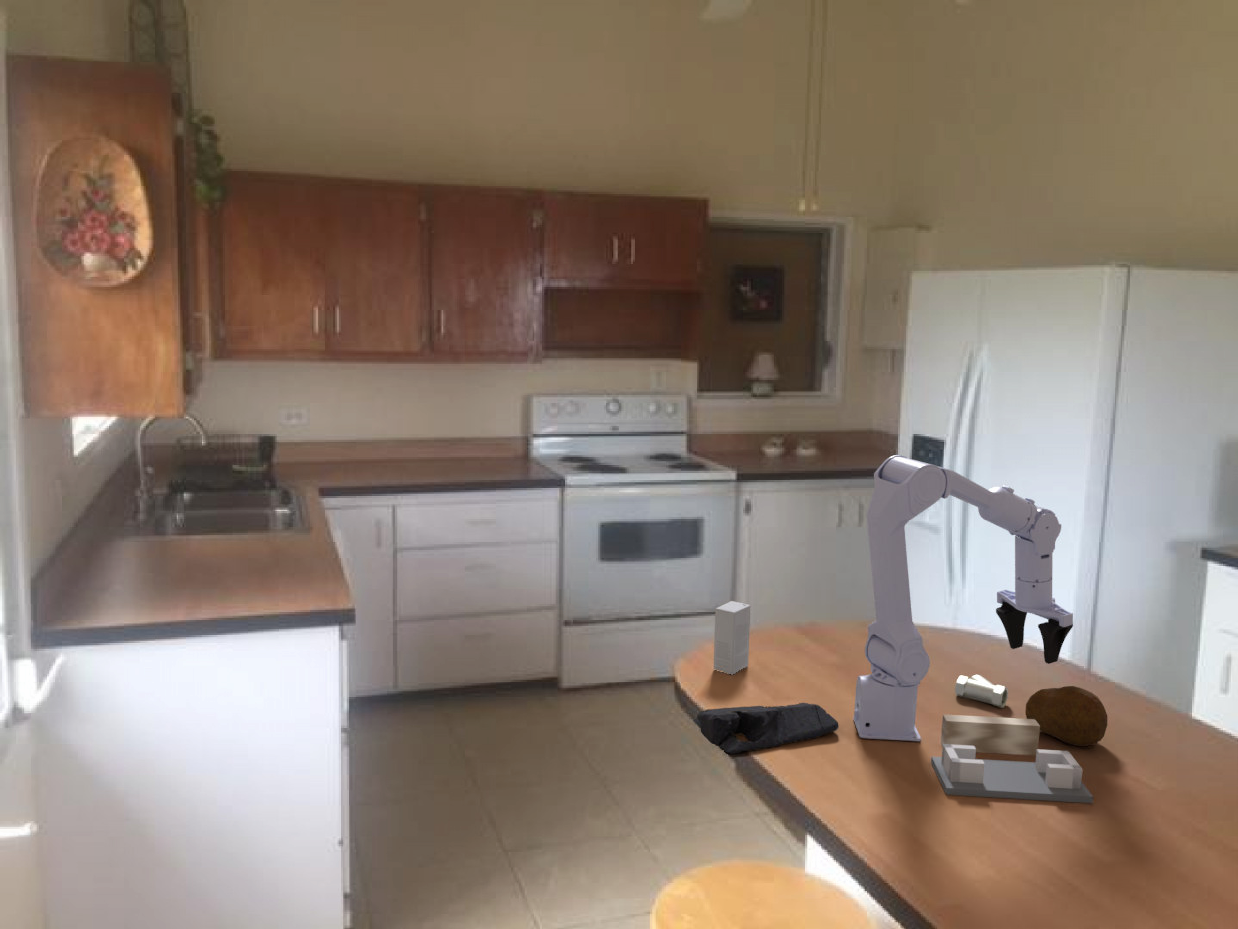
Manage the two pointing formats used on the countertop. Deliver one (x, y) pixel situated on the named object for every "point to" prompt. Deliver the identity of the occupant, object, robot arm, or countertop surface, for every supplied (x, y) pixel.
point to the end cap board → (1011, 776)
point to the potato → (1068, 714)
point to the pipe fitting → (981, 690)
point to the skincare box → (731, 637)
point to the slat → (992, 734)
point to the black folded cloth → (764, 725)
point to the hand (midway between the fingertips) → (1033, 654)
